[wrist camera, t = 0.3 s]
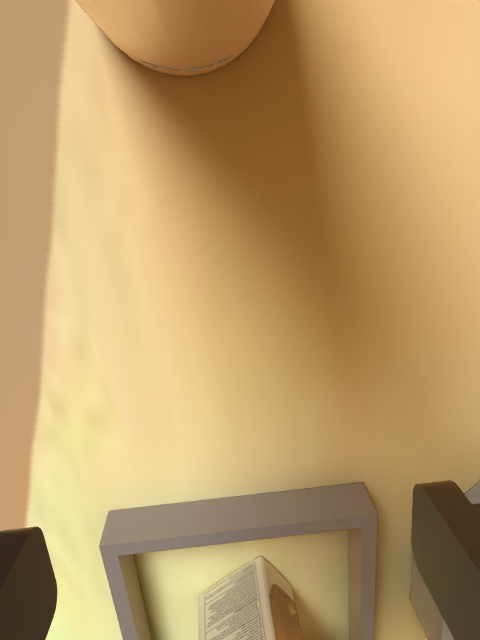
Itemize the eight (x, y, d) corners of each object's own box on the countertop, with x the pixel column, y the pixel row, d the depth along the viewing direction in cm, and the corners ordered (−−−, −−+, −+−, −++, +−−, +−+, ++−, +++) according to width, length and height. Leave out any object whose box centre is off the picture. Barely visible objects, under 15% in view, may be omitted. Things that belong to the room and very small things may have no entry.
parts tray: (108, 510, 32) (99, 545, 29) (362, 482, 32) (377, 514, 30) (148, 678, 38) (144, 720, 35) (360, 652, 39) (371, 691, 36)
